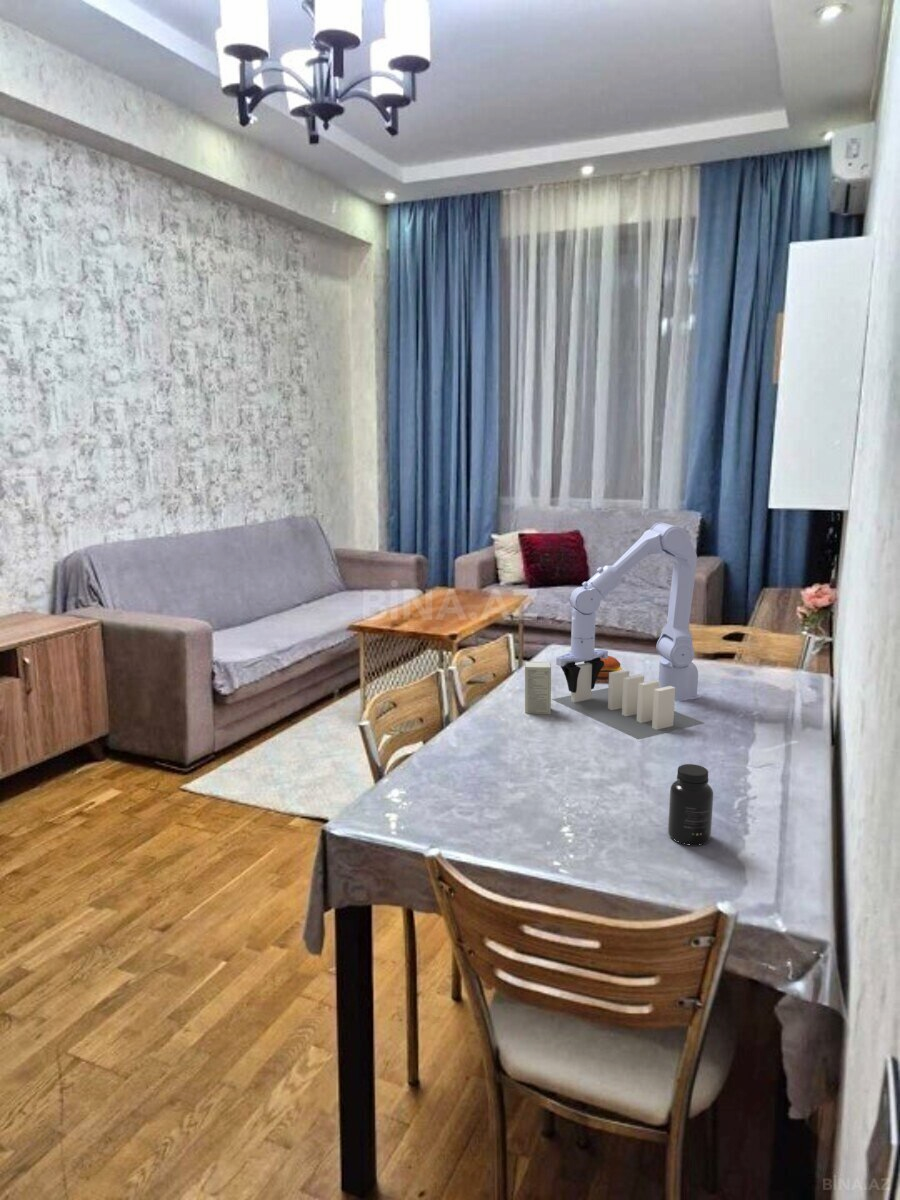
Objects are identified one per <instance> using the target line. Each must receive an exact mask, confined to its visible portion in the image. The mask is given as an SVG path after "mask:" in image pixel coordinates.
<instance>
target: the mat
mask: <svg viewBox="0 0 900 1200" xmlns="http://www.w3.org/2000/svg"><path fill="white" fill-rule="evenodd" d="M608 689H609V687H607V688H606V687H605V688H601V689H597V690H591V699H589V700H584V701H579V702H573V701H571V694H570V695H567V696H561V697H557V698H551V701H552V700H553V701H554V702H556V703H559V704H561V705H563V706H565V707H567V708H569V709H571V710H574V711H576V712H578V713H580V714H582V715H584V716H587V717H589V718H590V719H594V720H595V721H598V722H600V723H602V724H604V725H606V726H608V727H611V728H613V729H615V730H617V731H619V732H622V733H623V734H625V735H628V736H630V737H632V738H634V739H636V740H641V739H647V738H650V737H654V736H658V735H662V734H666V733H670V732H674V731H678V730H683V729H686V728H690V727H694V726H699V725H702V724H704V722H703V721H700V720H698V719H695V718H693V717H690V716H688V715H685V714H682V713H681V712H679V711H675V710H674V720H673V726H670V727H666V728H662V729H658V730H656V729H654V728H652V720H651V721H647V722H643V723H640V722H638V721H637V714H635V715H630V716H624V715H622V708H620V709H615V710H610V709H608Z"/></svg>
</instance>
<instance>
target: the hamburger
mask: <svg viewBox="0 0 900 1200" xmlns="http://www.w3.org/2000/svg"><path fill="white" fill-rule="evenodd" d="M601 660H602V661H604V666H603V667H602V669H601V670H600V672H599V674H598V677H597V679H596V682H597V683H609V672H614V671H619V670H623V669H622V667H621V663H620V661H619V659H617V658H616V657H614V656H610V655H608V658H606V659H604V658H601Z"/></svg>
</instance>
